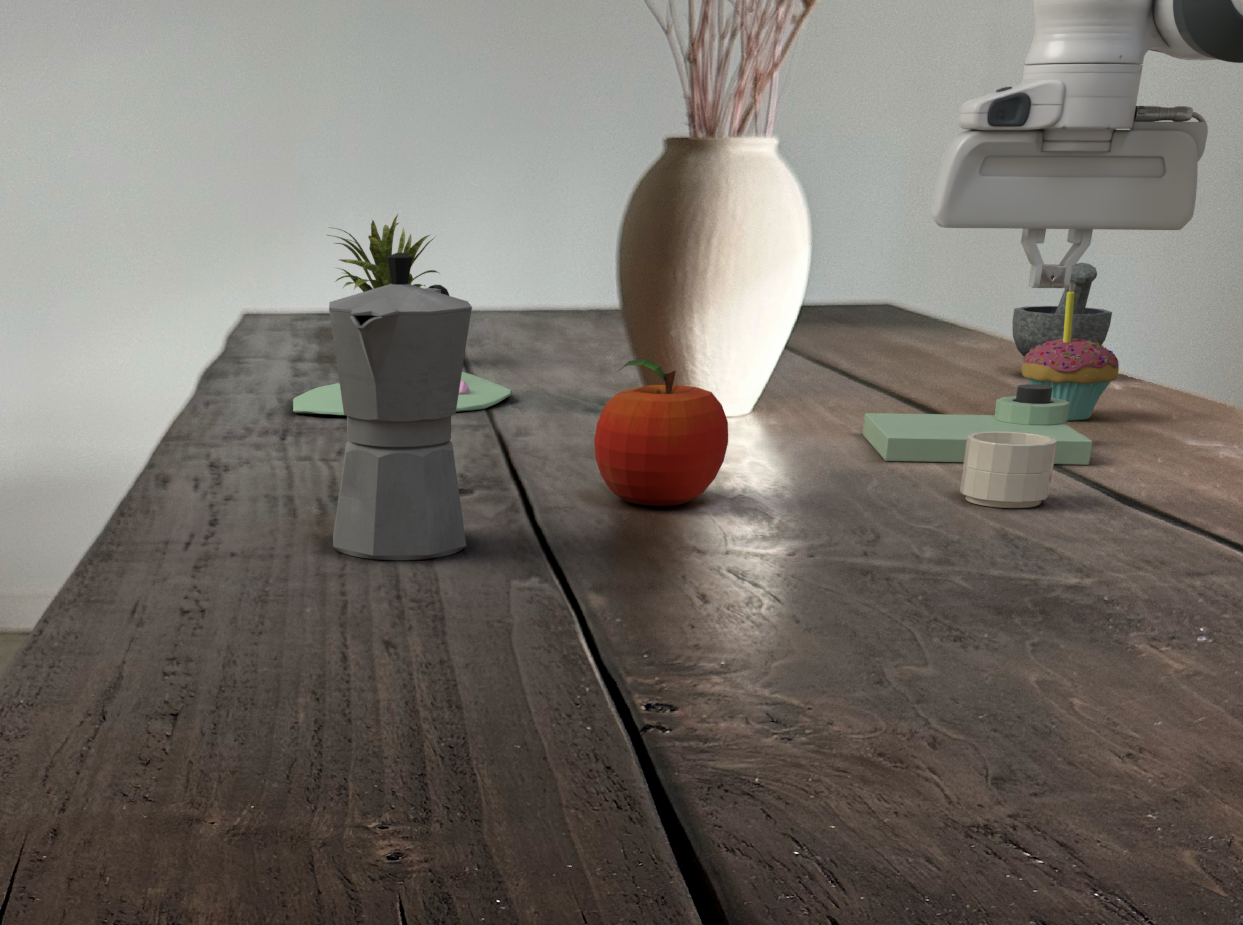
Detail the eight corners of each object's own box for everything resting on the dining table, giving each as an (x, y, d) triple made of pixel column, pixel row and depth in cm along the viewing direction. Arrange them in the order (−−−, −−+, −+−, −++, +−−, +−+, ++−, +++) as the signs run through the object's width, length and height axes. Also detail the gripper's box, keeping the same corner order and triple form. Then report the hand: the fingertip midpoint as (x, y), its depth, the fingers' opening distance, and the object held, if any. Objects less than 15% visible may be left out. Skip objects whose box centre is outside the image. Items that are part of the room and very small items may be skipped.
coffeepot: (432, 574, 104) (436, 262, 97) (292, 561, 107) (285, 258, 100) (507, 523, 117) (515, 245, 110) (380, 513, 121) (380, 242, 113)
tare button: (1045, 403, 147) (1048, 384, 146) (1053, 407, 144) (1056, 389, 144) (1011, 402, 147) (1014, 384, 146) (1019, 407, 145) (1021, 388, 144)
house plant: (316, 357, 202) (313, 209, 196) (431, 355, 204) (432, 208, 197) (326, 372, 189) (324, 215, 183) (449, 370, 191) (451, 214, 184)
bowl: (1035, 493, 127) (1045, 432, 125) (1055, 510, 121) (1065, 446, 119) (952, 492, 127) (960, 430, 125) (968, 508, 122) (977, 444, 120)
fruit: (711, 519, 118) (723, 370, 114) (577, 509, 122) (584, 364, 118) (734, 493, 127) (745, 354, 123) (607, 485, 130) (615, 349, 126)
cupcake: (1081, 426, 154) (1103, 287, 150) (995, 416, 160) (1014, 281, 155) (1127, 416, 160) (1150, 281, 155) (1042, 406, 165) (1062, 276, 161)
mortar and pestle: (997, 370, 190) (1013, 256, 185) (1083, 370, 189) (1102, 256, 185) (1023, 384, 180) (1041, 263, 175) (1114, 385, 179) (1135, 264, 174)
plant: (441, 426, 155) (442, 323, 151) (244, 411, 163) (241, 313, 160) (539, 391, 176) (543, 299, 172) (360, 380, 184) (360, 291, 180)
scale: (1052, 437, 149) (1059, 396, 148) (1093, 465, 137) (1100, 420, 136) (861, 434, 151) (866, 393, 150) (885, 461, 139) (890, 417, 137)
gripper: (1199, 106, 138) (1166, 286, 144) (940, 105, 140) (917, 282, 146) (1225, 105, 132) (1190, 292, 138) (954, 104, 135) (931, 289, 140)
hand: (1048, 287), depth 142 cm, fingers closed
